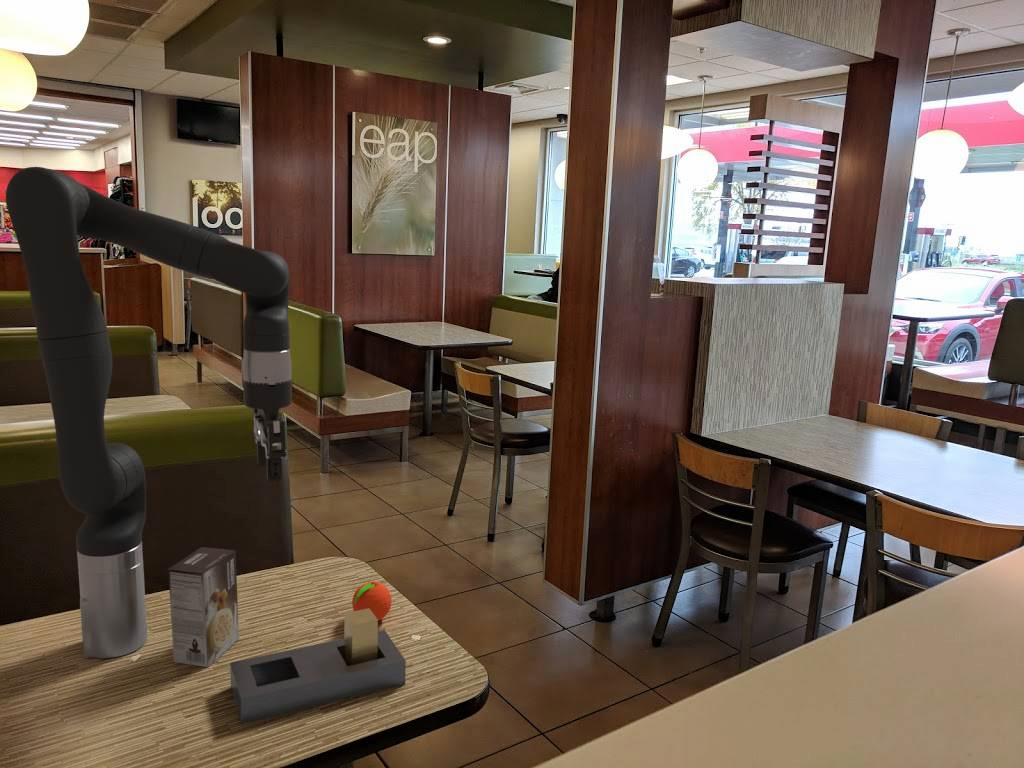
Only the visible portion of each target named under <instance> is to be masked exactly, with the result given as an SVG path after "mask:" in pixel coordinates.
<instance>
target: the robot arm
mask: <svg viewBox="0 0 1024 768" xmlns="http://www.w3.org/2000/svg"><path fill="white" fill-rule="evenodd" d="M6 186H7V187H6V190H5V205H6V209H7V212H8V216H9V219H10V222H11V225H12V229H13V231H14V234H15V238H16V241H17V245H18V247H19V250H20V254H21V256H22V260H23V263H24V266H25V267H24V268H25V271H26V277H27V284H28V289H29V295H30V296H29V297H30V301H31V302H30V303H31V306H32V307H31V308H32V312H33V313H32V314H33V316H34V317H33V318H34V322H35V323H34V324H35V331H36V337H37V339H38V340H37V342H38V346H39V347H38V348H39V351H40V355H41V361H42V365H43V369H44V374H45V377H46V383H47V388H48V393H49V400H50V405H51V410H52V416H53V421H54V422H53V423H54V429H55V437H56V451H57V465H58V466H57V467H58V476H59V483H60V487H61V490H62V493H63V495H64V497H65V499H66V501H67V502H68V504H69V505H70V506H71V507H72V508H73V509H75V510H76V511H77V512H80V513H81V514H82V513H83V514H85V515H86V517H85V519H84V521H83V523H82V524H81V525H80V527H79V529H77V533H76V536H75V537H76V538H75V541H76V544H75V545H76V555H77V568H78V581H79V582H78V583H79V595H80V597H79V598H80V599H79V608H80V610H79V611H80V622H81V623H80V624H81V636H82V637H81V638H82V647H83V648H82V649H83V658H84V659H88V658H97V659H111V658H112V659H113V658H117V657H122V656H124V655H128V654H131V653H133V652H135V651H137V650H139V649H141V648H142V647H143V646H144V645H145V644H146V643H147V640H148V625H147V609H146V608H147V607H146V592H145V591H146V590H145V589H146V588H145V573H144V572H145V571H144V556H143V540H142V538H143V536H142V534H143V529H144V526H145V523H146V517H147V486H146V485H147V482H146V471H145V466H144V463H143V461H142V459H141V457H140V455H139V454H138V453H137V452H136V450H134V449H133V448H132V447H131V446H129V445H128V444H124V443H121V442H109V443H108V441H107V437H106V436H107V435H106V428H105V409H106V404H107V400H108V399H107V398H108V395H109V390H110V385H111V380H112V373H113V354H112V348H111V347H112V346H111V342H110V337H109V332H108V326H107V323H106V319H105V316H104V313H103V310H102V308H101V305H100V304H99V301H98V299H97V297H96V295H95V292H94V291H93V288H92V287H91V284H90V282H89V280H88V278H87V275H86V272H85V271H84V268H83V264H82V261H81V254H80V247H79V239H78V237H79V236H80V237H84V238H91V239H95V240H101V241H103V242H107V243H111V244H114V245H116V246H117V245H118V246H120V247H123V248H125V249H128V250H131V251H133V252H135V253H137V254H140V255H142V256H144V257H147V258H148V259H151V260H154V261H156V262H159V263H161V264H163V265H166V266H169V267H172V268H174V269H177V270H180V271H183V272H186V273H190V274H193V275H195V276H199V277H201V278H206V279H210V280H214V281H216V282H218V283H220V284H223V285H225V286H228V287H230V288H232V289H235V290H237V291H239V292H242V293H243V294H244V293H245V304H246V305H245V306H246V307H245V309H246V313H245V316H244V319H243V328H242V329H243V331H242V332H243V357H242V390H243V391H242V392H243V393H242V394H243V404H244V406H245V407H247V408H249V409H253V414H252V415H253V432H252V435H253V437H254V438H255V439H254V441H255V444H256V450H257V451H256V452H257V453H256V456H257V459H256V460H257V465H258V466H259V467H266V479H267V481H268V482H279V481H281V480H282V479H283V471H282V470H283V469H282V468H283V467H282V466H283V465H282V464H283V463H282V461H283V460H282V459H284V458H286V455H287V452H286V429H285V427H286V422H285V419H283V417H280V410H281V409H284V408H287V407H289V406H290V405H292V403H293V381H292V377H293V376H292V370H293V369H292V358H291V357H292V356H291V349H290V346H291V345H290V344H291V343H290V323H289V303H290V302H289V301H290V286H291V285H290V279H291V278H290V277H291V276H290V268H289V265H288V264H287V261H286V260H285V259H284V258H283V256H281V255H280V254H278V253H276V252H273V251H270V250H269V251H268V250H259V249H256V248H253V247H249V246H246V245H242V244H240V243H237V242H233V241H230V240H229V239H227V238H226V237H224V236H222V235H220V234H217V233H215V232H212V231H210V230H206V229H203V228H201V227H197V226H194V225H193V224H189V223H185V222H182V221H179V220H176V219H172V218H170V217H165V216H162V215H158V214H155V213H151V212H147V211H144V210H141V209H138V208H135V207H133V206H130V205H127V204H125V203H122V202H121V201H117V200H116V199H112V198H111V197H108V196H106V195H104V194H103V193H100V192H99V191H96V190H94V189H92V188H91V187H88V186H87V185H85V184H83V183H81V182H79V181H78V180H76V179H75V178H73V176H70V175H68V174H66V173H64V172H62V171H61V172H60V171H59V170H58V171H57V170H54V169H51V168H46V167H42V166H30V167H25V168H22V169H20V170H19V171H17V172H15V174H14V175H13V176H12V177H11V178H10V179H9V181H8V184H7V185H6ZM273 446H275V447H276V446H277V447H276V448H277V449H276V450H275V449H274V450H273Z"/></svg>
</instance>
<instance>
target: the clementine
mask: <svg viewBox="0 0 1024 768" xmlns="http://www.w3.org/2000/svg"><path fill="white" fill-rule="evenodd" d="M392 601H393V600H392V595H391V593H390V590H389V589H388V588H387V586H386V585H384V584H382V583H380V582H378V581H368V582H365V583H363V584H360V586H358V588H357V589H356V590H355V592H354V593H353V595H352V600H351V606H352V610H353V611H358V610H363V609H368V608H370V610H371V611H372V612H373V614H374V615H375V617H376V618H377V619H378V622H379V621H380V620H382V619H384V618H385V617H387V615H388V614H389V612H390V610H391V607H392Z"/></svg>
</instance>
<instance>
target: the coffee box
mask: <svg viewBox="0 0 1024 768" xmlns="http://www.w3.org/2000/svg"><path fill="white" fill-rule="evenodd" d="M236 552H237V551H236V550H231V549H224V548H215V547H214V548H213V547H206V546H201V547H199V548H198V549H196V550H195V551H193V552H191V553H190V554H188V555H187V556H186V557H184V558H183V559H181V560H180V561H178V562H177V563H175V564H174V565H172V566H171V567H169V568H168V569H167V572H168V586H169V587H168V590H169V602H170V605H169V606H170V620H171V621H170V622H171V637H172V652H173V653H172V654H173V657H172V658H173V662H174V663H177V664H183V665H190V666H191V665H192V666H197V667H203V668H209V667H210V666H212V664H214V663H215V662H216V661H217V660H218V659H219V658H220V657H221V656H222V655H223V654H225V652H227V651H228V650H229V649H231V647H232V646H233V645H234V644H235V643H236V642H237V641H239V640H240V629H239V605H238V584H237V583H238V579H237V578H238V577H237V562H236V561H237V558H236V557H237V556H236Z"/></svg>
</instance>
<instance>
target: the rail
mask: <svg viewBox="0 0 1024 768" xmlns="http://www.w3.org/2000/svg"><path fill="white" fill-rule="evenodd" d="M406 662H407V661H406V659H405V657H404V656H403V654H402V653H401V651H400V650H399V648H398V647H397V645H396V644H395V643H394V641H393V640H392V638H391V637H390V635H389V634H388V633H387V631H386V630H385V629H383V630H378V659H377V660H373V661H368V662H364V663H360V664H355V665H351V666H347V665H346V663H345V649H344V638H339V639H335V640H330V641H327V642H321V643H317V644H312V645H308V646H301V647H298V648H297V647H296V648H294V649H288V650H284V651H279V652H274V653H270V654H264V655H260V656H254V657H251V658H246V659H241V660H235V661H232V662H230V663H229V667H230V669H229V670H230V688H231V692H232V694H233V695H232V696H233V698H234V702H235V706H236V710H237V712H238V716H239V721H240V723H241V725H246V724H251V723H254V722H258V721H259V722H260V721H261V720H262V721H263V720H267V719H271V718H275V717H278V716H279V717H280V716H283V715H287V714H291V713H295V712H299V711H303V710H306V709H307V710H308V709H311V708H315V707H319V706H323V705H327V704H331V703H335V702H339V701H343V700H346V699H350V698H351V699H352V698H356V697H360V696H364V695H367V694H371V693H375V692H379V691H383V690H387V689H392V688H395V687H399V686H403V685H406Z"/></svg>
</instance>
